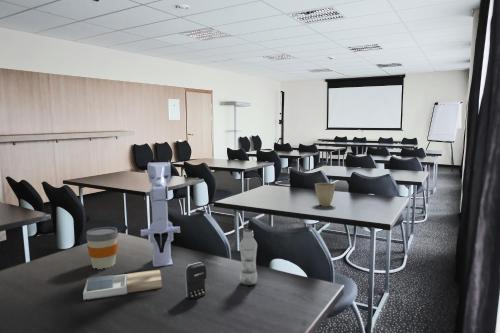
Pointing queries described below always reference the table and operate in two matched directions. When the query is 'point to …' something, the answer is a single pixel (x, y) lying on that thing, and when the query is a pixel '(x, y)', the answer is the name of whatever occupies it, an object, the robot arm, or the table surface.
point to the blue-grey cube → (106, 282)
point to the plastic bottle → (248, 258)
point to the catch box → (117, 289)
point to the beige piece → (144, 281)
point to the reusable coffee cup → (102, 246)
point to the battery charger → (195, 280)
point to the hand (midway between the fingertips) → (161, 252)
